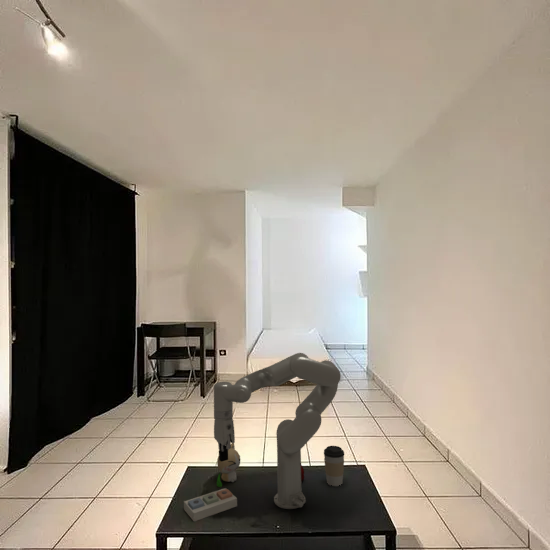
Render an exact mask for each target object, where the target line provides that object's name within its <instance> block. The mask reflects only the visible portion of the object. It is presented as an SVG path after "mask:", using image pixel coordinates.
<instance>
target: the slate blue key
mask: <svg viewBox="0 0 550 550" xmlns="http://www.w3.org/2000/svg"><path fill="white" fill-rule="evenodd" d="M188 505H189V507H190V508H191V509H192V510H194V509H197V508H200V507H203V506H204V502H203V501H202V500H201V499H200V498H197V499H194V500H191V501H188Z"/></svg>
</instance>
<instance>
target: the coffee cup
mask: <svg viewBox="0 0 550 550" xmlns="http://www.w3.org/2000/svg"><path fill="white" fill-rule="evenodd" d="M323 457H324V459H323V461H324V472H325V478H326V483H328V484H327V485H329V486H331V485H332V487H340V486H342V485H343V480H344V476H343V475H344V470H345V469H344V467H345V451H344V450H343V449H342V447H340V446H339V445H329V446H326V448H324V449H323ZM341 484H342V485H341ZM339 485H340V486H339Z"/></svg>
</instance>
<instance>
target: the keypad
mask: <svg viewBox="0 0 550 550" xmlns="http://www.w3.org/2000/svg"><path fill="white" fill-rule="evenodd" d="M225 489H227V488H226V487H225V488H221V489H219V490H215V491H212V492H209V493H206V494H203V495H199V496H196V497H194V498H191V499H187V500H183V510H184V511H185V512H186V513H187V515H188V516H189V517H190V518H191V520H192V521H193V522H198V521H199V520H202V519H204V518H207V517H211V516H215V515H216V514H218V513H221V512H222V513H223V512H224V511H227V510H230V509H233V508H235V507H236V508H237V507H238V498H237V497H236V496H235V495H234V494H233V493H232V497H229V498H226V499H223V500H221V499H220V498H219V497H218V496H217V492H218V491H221V490H225ZM212 493H214V494H215V495H216V496H217V497H218V498H219V501H217V502H214V503H211V504H208V505H207V504H206V503H205V502H204V501H203V496H206V495H209V494H212ZM197 498H200V499H201V500H202V501H203V502H204V506H203V507H200V508H197V509H194V510H192V509H191V508H190V507H189V505H188V501H191V500H194V499H197Z"/></svg>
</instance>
